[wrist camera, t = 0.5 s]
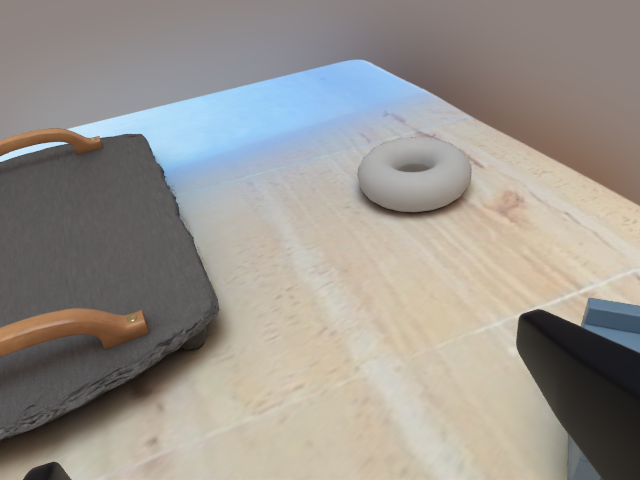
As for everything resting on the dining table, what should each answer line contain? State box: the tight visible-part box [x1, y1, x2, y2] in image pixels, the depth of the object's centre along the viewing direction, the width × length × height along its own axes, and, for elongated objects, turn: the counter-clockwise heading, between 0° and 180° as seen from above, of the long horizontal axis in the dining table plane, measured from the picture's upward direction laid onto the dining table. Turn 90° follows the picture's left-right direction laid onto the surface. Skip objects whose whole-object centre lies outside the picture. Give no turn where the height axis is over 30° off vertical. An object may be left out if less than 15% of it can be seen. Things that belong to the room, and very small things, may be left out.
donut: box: [358, 137, 472, 212], centre depth 45 cm, size 10×3×10 cm
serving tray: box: [0, 128, 219, 440], centre depth 41 cm, size 39×23×6 cm, turn 25°
